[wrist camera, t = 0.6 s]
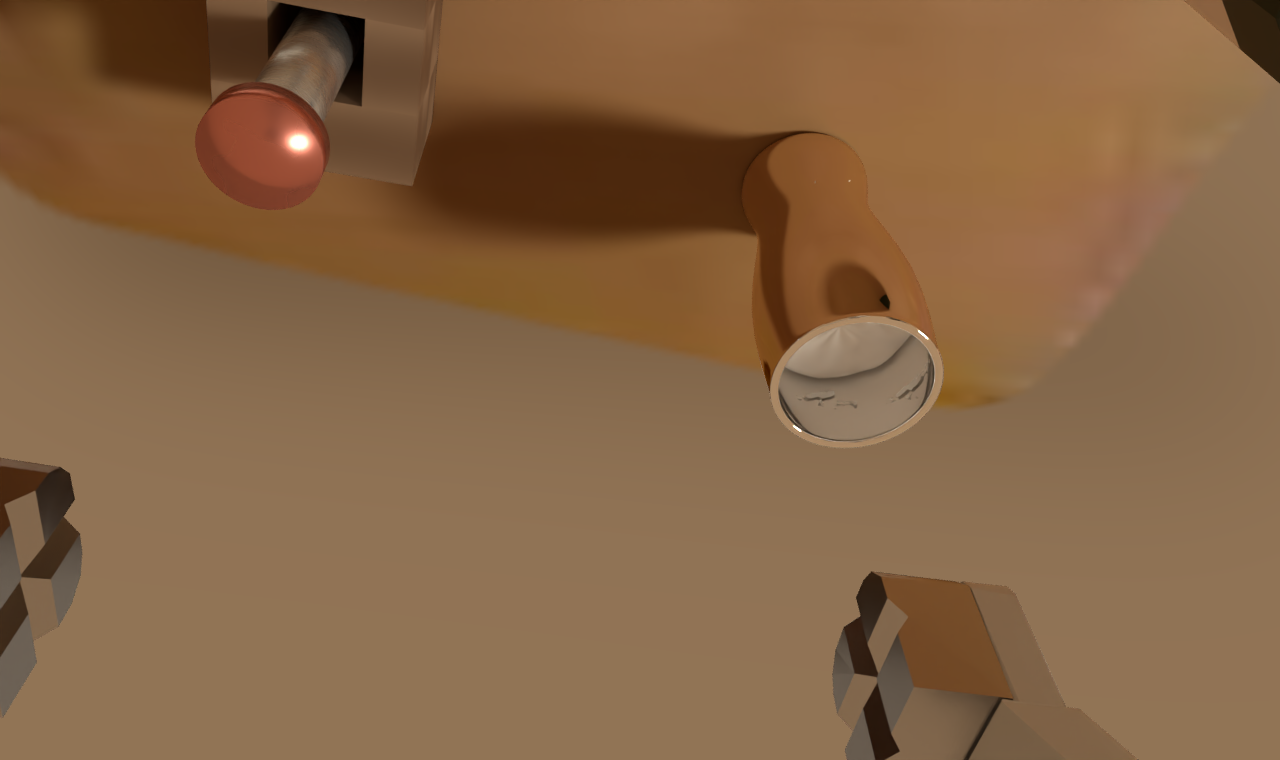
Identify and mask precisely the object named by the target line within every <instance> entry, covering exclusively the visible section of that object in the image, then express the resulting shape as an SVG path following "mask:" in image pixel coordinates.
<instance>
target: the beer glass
mask: <svg viewBox="0 0 1280 760" xmlns="http://www.w3.org/2000/svg"><path fill="white" fill-rule="evenodd" d="M741 196H742V205H743V209H744V212H745V215H746V217H747V219H748V221H749V223H750V225H751V227H752V228H753V230H754V232H755V233H756V236H757V242H758V243H757V253H756V260H755V267H754V276H753V285H752V318H753V328H754V336H755V341H756V346H757V350H758V355H759V359H760V363H761V366H762V370H763V373H764V377H765V380H766V383H767V386H768V389H769V393H770V399H771V404H772V407H773V409H774V412H775V414H776V416H777V417H778V419H779V420H780V421H781V423H782V424H783V425H784V426H785V427H786V428H787V429H788V430H789V431H791V432H792V433H793V434H795V435H796V436H798V437H800V438H802V439H804V440H806V441H808V442H811V443H814V444H817V445H821V446H825V447H832V448H858V447H864V446H870V445H874V444H877V443H881V442H884V441H886V440H889V439H891V438H893V437H896V436H897V435H899V434H901V433H903V432H905V431H906V430H908V429H909V428H911V427H912V426H913V425H915V424H916V423H917V422H918V421H920V419H922V418H923V417H924V415H926V414H927V412H928V411H929V410H930V409H931V407H932V406H933V404H934V403H935V401H936V399H937V397H938V395H939V393H940V390H941V387H942V383H943V377H944V368H943V361H942V358H941V355H940V352H939V350H938V346H937V342H936V337H935V333H934V329H933V325H932V321H931V317H930V313H929V310H928V307H927V304H926V301H925V298H924V295H923V292H922V289H921V287H920V284H919V282H918V280H917V278H916V275H915V273H914V271H913V269H912V267H911V265H910V263H909V262H908V260H907V258H906V257H905V255H904V254H903V252H902V251H901V249H900V248H899V246H898V245H897V243H896V242H895V241H894V239H893V238H892V237H891V235H890V234H889V233H888V232H887V230H886V229H885V228H884V226H883V225H882V224H881V223H880V221H879V220H878V219H877V218H876V216H875V215H874V214H873V212H872V211H871V210H870V208H869V205H868V183H867V176H866V172H865V168H864V165H863V163H862V161H861V159H860V158H859V156H858V155H857V154H856V152H855V151H854V150H853V149H852V148H851V147H850V146H848V145H847V144H846V143H844V142H843V141H841V140H839V139H837V138H835V137H832V136H829V135H825V134H820V133H801V134H795V135H791V136H788V137H785V138H783V139H780V140H778V141H776V142H775V143H773V144H771V145H770V146H768V147H767V148H765V149H764V150H763V151H762V152H761V153H760V154H759V155H758V156H757V157H756V158H755V159H754V161H753V162H752V163H751V165H750V167H749V168H748V170H747V172H746V175H745V177H744V181H743V185H742V193H741Z"/></svg>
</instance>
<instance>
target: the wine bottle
mask: <svg viewBox="0 0 1280 760" xmlns="http://www.w3.org/2000/svg"><path fill="white" fill-rule="evenodd" d="M1184 1H1185V2H1186V3H1187V4H1189V5H1190V6H1191V7H1192V8H1193V9H1194V10H1196V11H1197V12H1198V13H1199V14H1200V15H1201V16H1202V17H1204V18H1205V19H1206V20H1207V21H1208V22H1209V23H1211V24H1212V25H1213V26H1214V27H1215V28H1216V29H1217V30H1219V31H1220V32H1221V33H1222V34H1223V35H1224V36H1226V37H1227V38H1228V39H1229V40H1230V41H1231V42H1233V43H1234V44H1235V45H1236V46H1237V47H1238V48H1239V49H1241V50H1242V51H1243V52H1244V53H1245V54H1246V55H1248V56H1249V57H1250V58H1251V59H1252V60H1253V61H1254V62H1256V63H1257V64H1258V65H1259V66H1260V67H1261V68H1263V69H1264V70H1265V71H1266V72H1267V73H1268V74H1269V75H1271V76H1272V77H1273V78H1274V79H1275V80H1276V81H1278V82H1279V83H1280V0H1184Z"/></svg>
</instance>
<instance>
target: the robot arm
mask: <svg viewBox="0 0 1280 760" xmlns="http://www.w3.org/2000/svg"><path fill="white" fill-rule="evenodd" d="M74 500H75V497H74V492H73V487H72V481H71V476H70V473H69V472H67V471H66V470H64V469H63V468H61V467H57V466H51V465H44V464H37V463H31V462H24V461H17V460H11V459H4V458H0V718H3V717H4V715H5V714H6V712H7V710H8V709H9V707H10V705H11V704H12V702H13V700H14V699H15V697H16V696H17V694H18V692H19V690H20V689H21V687H22V686H23V684H24V683H25V681H26V679H27V677H28V676H29V674H30V673H31V671H32V670H33V668H34V666H35V664H36V663H37V660H36V654H35V649H34V643H33V641H34V640H36V639H38V638H40V637H41V636H43V635H45V634H46V633H48V632H50V631H52V630H54V629H55V628H57V627H58V626H59V625H60V623H61V621H62V620H63V618H64V616H65V614H66V613H67V611H68V609H69V608H70V606H71V604H72V601H73V598H74V595H75V592H76V588H77V585H78V582H79V579H80V576H81V564H82V546H81V538H80V533H79V532H78V531H76V529H75V528H74V527H73V526H72V525H71V524H70V523H69V522H68V521H67V520H66V519H65V518H64V515H65V514H66V512H67V511H68V509H69V508H70V506H71V504H72V503H73V502H74ZM856 600H857V603H858V608H859V612H860V617H858V618H857V619H855V620H854V621H852V622H851V623H849V624H848V625H846V626H845V627H844V628H843V631H842V633H841V636H840V639H839V642H838V645H837V647H836V651H835V658H834V666H833V674H832V675H833V695H834V700H835V705H836V710H837V714H838V715H839V716H840V718H841V719H842V720H843V721H844V722H845V723H846V724H847V725H848V726H849V727H850V728H851V730H852V731H853V732H852V735H851V737H850V740H849V742H848V744H847V746H846V748H845V753H846V758H847V760H1138V759H1137V758H1136V757H1135V756H1134V755H1132V754H1131V753H1130V752H1129V751H1128V750H1126V749H1125V748H1124V747H1123V746H1122V745H1121V744H1120V743H1119V742H1117V741H1116V740H1115V739H1114V738H1113V737H1112V736H1110V735H1109V734H1108V733H1107V732H1106V731H1105V730H1104V729H1102V728H1101V727H1100V726H1099V725H1098V724H1097V723H1096V722H1094V721H1093V720H1092V719H1091V718H1090V717H1088V716H1087V715H1086V714H1085V713H1084V712H1083V711H1082V710H1081V709H1078V708H1069V707H1066V706H1065V703H1064V701H1063V699H1062V697H1061V694H1060V692H1059V690H1058V688H1057V686H1056V683H1055V681H1054V679H1053V677H1052V675H1051V672H1050V670H1049V668H1048V665H1047V663H1046V661H1045V659H1044V657H1043V654H1042V652H1041V650H1040V648H1039V646H1038V643H1037V641H1036V639H1035V636H1034V634H1033V632H1032V630H1031V627H1030V625H1029V623H1028V621H1027V619H1026V616H1025V614H1024V612H1023V610H1022V607H1021V605H1020V603H1019V601H1018V599H1017V596H1016V594H1015V593H1014V592H1013V591H1012V590H1011V589H1009V588H1008V587H1007V586H999V585H989V584H981V583H972V582H961V583H959V582H956V581H948V580H939V579H931V578H923V577H914V576H907V575H898V574H890V573H882V572H874V571H871V573H869V574H868V576H867V577H866V578H865V579H864V580H863V582H862V584H861V587H860V589H859V591H858V594H857V596H856Z"/></svg>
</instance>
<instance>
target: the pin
mask: <svg viewBox="0 0 1280 760" xmlns="http://www.w3.org/2000/svg"><path fill="white" fill-rule="evenodd" d="M364 38H365V19H363V18H358V17H353V16H348V15H343V14H337V13H332V12H327V11H322V10H317V9H311V8H306V7H302V9H301V10H300V12H299V13H298V15H297V16H296V18H295V20H294V21H293V23H292V24H291V26H290V27H289V29H288V30H287V32H286V34H285V35H284V37H283V38H282V40H281V41H280V43H279V45H278V46H277V48H276V49H275V51H274V52H273V54H272V55H271V57H270V59H269V60H268V62H267V63H266V65H265V66H264V68H263V69H262V71H261V73H260V74H259V76H258V77H257V79H256V80H255V82H247V83H241V84H238V85H235V86H232V87H230V88H228V89H227V90H225V91H223V92H222V93H221V94H220V95H219V96H218V97H217V98H216V99H215V101H214V102H213V103H212V105H211V106H210V108H209V109H208V111H207V112H206V113H205V115H204V116H203V118H202V119H201V121H200V123H199V125H198V128H197V131H196V137H195V146H196V153H197V156H198V160H199V162H200V164H201V166H202V168H203V170H204V172H205V173H206V175H207V176H208V177H209V179H210V180H211V181H212V182H213V183H214V184H215V185H216V187H218V188H219V189H220V190H221V191H222V192H224V193H225V194H226V195H228V196H229V197H231V198H233V199H234V200H236V201H238V202H240V203H243V204H245V205H248V206H251V207H255V208H259V209H266V210H279V209H286V208H290V207H293V206H295V205H298V204H300V203H301V202H303V201H305V200H306V199H307V198H308V197H310V196H311V194H312V193H313V192H314V191H315V189H316V188H317V186H318V184H319V182H320V180H321V177H322V175H323V173H324V171H325V168H326V166H327V164H328V161H329V157H330V141H329V136H328V133H327V130H326V127H325V125H324V123H323V122H324V120H325V118H326V116H327V114H328V112H329V110H330V108H331V106H332V104H333V102H334V100H335V98H336V96H337V93H338V91H339V89H340V87H341V85H342V83H343V81H344V79H345V77H346V75H347V73H348V71H349V69H350V67H351V65H352V63H353V61H354V59H355V56H356V54H357V52H358V50H359V48H360V46H361V44H362V42H363V40H364Z"/></svg>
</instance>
